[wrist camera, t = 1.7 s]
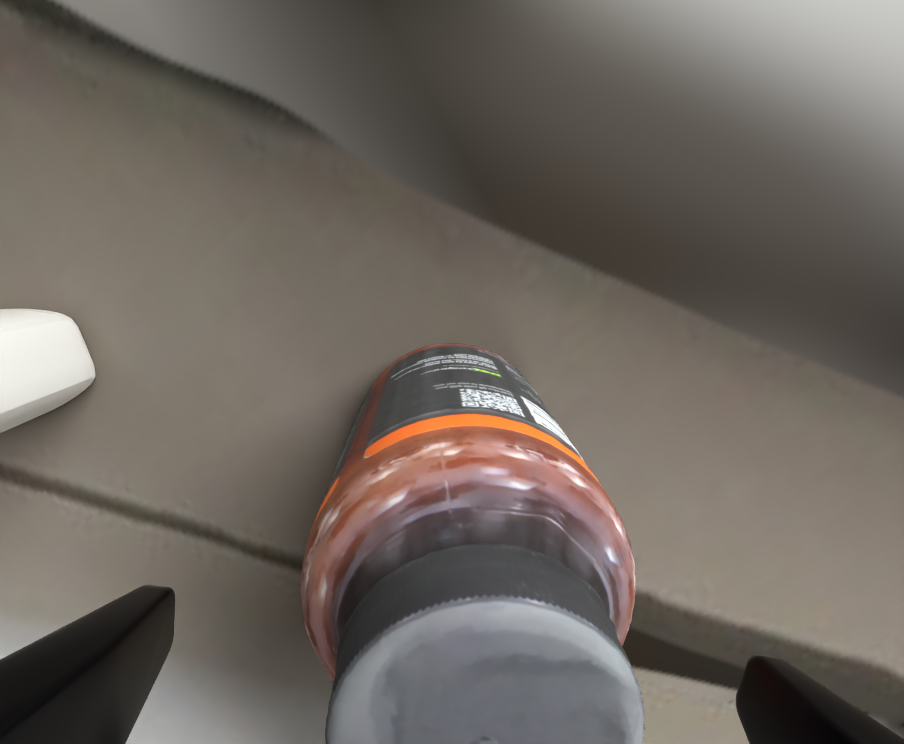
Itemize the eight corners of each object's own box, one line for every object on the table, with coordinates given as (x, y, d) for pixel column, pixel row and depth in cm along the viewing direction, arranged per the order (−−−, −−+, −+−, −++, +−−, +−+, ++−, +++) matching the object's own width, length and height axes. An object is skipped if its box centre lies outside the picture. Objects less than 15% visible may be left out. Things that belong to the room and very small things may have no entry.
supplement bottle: (399, 531, 18) (343, 975, 7) (332, 374, 17) (134, 629, 6) (562, 475, 18) (769, 851, 7) (509, 311, 16) (660, 453, 5)
